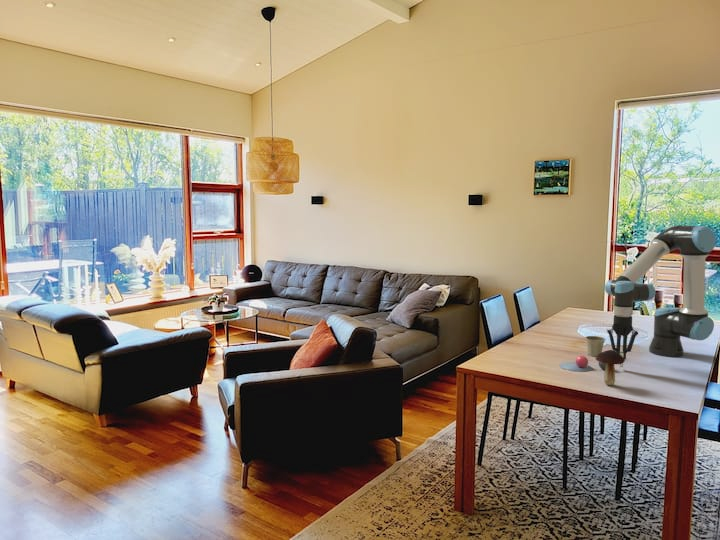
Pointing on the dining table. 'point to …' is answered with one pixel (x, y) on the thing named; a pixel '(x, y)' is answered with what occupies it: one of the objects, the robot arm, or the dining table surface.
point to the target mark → (574, 367)
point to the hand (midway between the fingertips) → (620, 366)
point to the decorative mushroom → (610, 364)
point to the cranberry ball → (581, 361)
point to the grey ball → (602, 365)
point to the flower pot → (594, 345)
